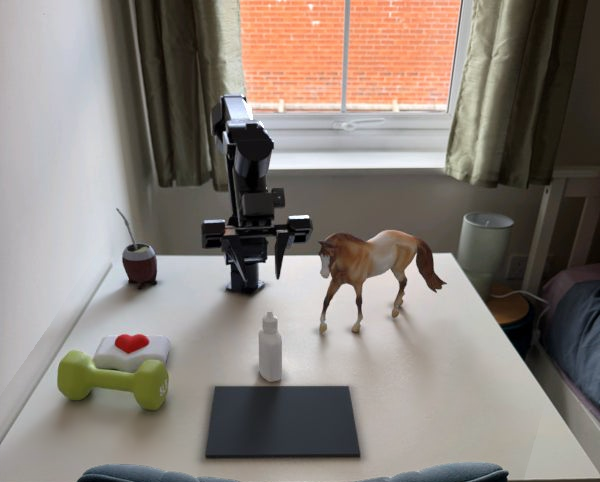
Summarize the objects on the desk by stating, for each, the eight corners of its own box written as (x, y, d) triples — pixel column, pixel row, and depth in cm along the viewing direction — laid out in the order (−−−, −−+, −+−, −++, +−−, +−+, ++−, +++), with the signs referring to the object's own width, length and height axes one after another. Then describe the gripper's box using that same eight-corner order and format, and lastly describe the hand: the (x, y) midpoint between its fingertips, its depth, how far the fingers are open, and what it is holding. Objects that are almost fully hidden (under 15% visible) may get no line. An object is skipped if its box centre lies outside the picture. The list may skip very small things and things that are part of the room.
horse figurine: (319, 350, 109) (324, 241, 97) (296, 332, 114) (298, 226, 102) (443, 309, 123) (461, 209, 111) (417, 295, 128) (432, 198, 116)
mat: (215, 389, 98) (214, 386, 98) (348, 388, 99) (348, 385, 99) (205, 458, 84) (205, 455, 84) (360, 457, 85) (360, 454, 85)
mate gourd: (155, 290, 127) (146, 221, 118) (118, 289, 127) (106, 220, 118) (162, 275, 133) (154, 208, 124) (127, 274, 133) (116, 207, 124)
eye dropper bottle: (285, 366, 104) (286, 304, 97) (280, 384, 100) (280, 320, 93) (260, 363, 105) (259, 302, 98) (254, 381, 100) (253, 318, 93)
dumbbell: (175, 391, 97) (170, 353, 93) (156, 420, 91) (150, 381, 87) (81, 378, 100) (73, 341, 96) (57, 406, 93) (46, 367, 89)
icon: (85, 355, 98) (99, 325, 106) (90, 377, 100) (104, 346, 108) (161, 355, 98) (169, 325, 106) (164, 377, 101) (172, 346, 109)
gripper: (196, 170, 93) (206, 265, 91) (312, 166, 97) (325, 258, 94) (197, 204, 104) (206, 289, 102) (301, 199, 108) (313, 282, 105)
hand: (262, 279), depth 101 cm, fingers open, 5 cm apart
